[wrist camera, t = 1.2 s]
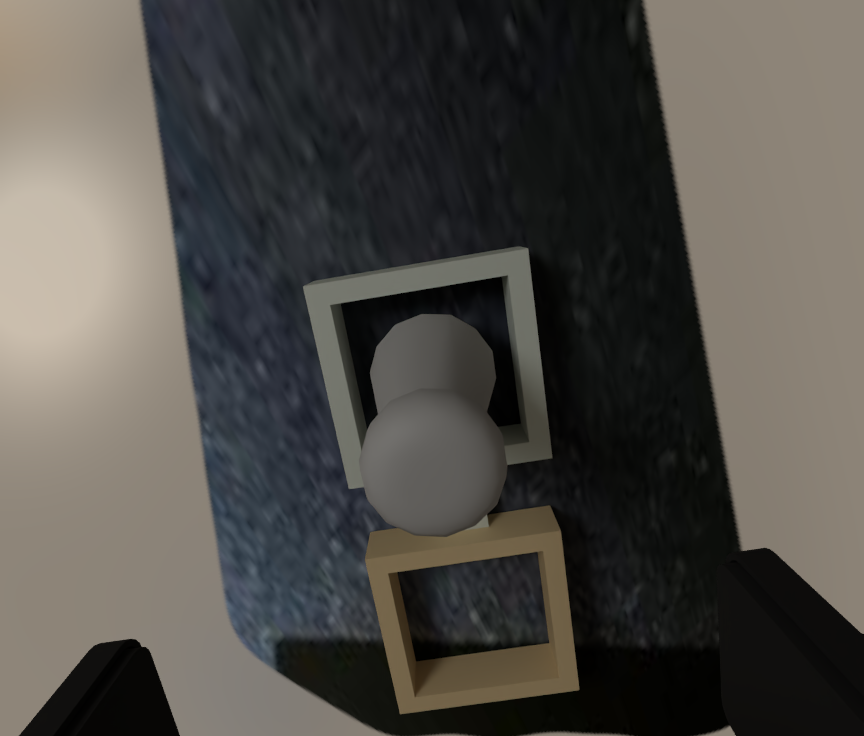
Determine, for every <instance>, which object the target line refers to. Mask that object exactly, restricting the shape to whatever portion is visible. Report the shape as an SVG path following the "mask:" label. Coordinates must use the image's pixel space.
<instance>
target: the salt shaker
mask: <svg viewBox="0 0 864 736" xmlns="http://www.w3.org/2000/svg"><path fill="white" fill-rule="evenodd" d="M370 376H371V381H372V386H373V391H374V396H375V401H376V406H377V411H378V415H377V416H376V418H375V419H374V420H373V421H372V422H371V423H370V425H369V428H368V430H367V433H366V436H365V440H364V444H363V447H362V451H361V455H360V458H359V465H360V472H361V476H362V480H363V484H364V488H365V492H366V496H367V499H368V501H369V502H370V503H371V504H372V506H373V507H374V508H375V509H376V510H377V512H378V513H379V514H380V515H381V517H382V518H383V519H384V520H385V521H386V523H389V524H391V525H393V526H395V527H397V528H399V529H402V530H404V531H406V532H408V533H410V534H413V535H415V536H435V537H448V536H450V535H453V534H455V533H458V532H460V531H463V530H466V529H468V528H471V527H473V526H476V525H477V524H478V523H479V522H480V521H481V520H482V519H483V518H484V517H485V516H486V515H487V514H488V513H489V512H490V511H491V510H492V509H493V508H494V507H495V506H496V505H497V504H498V500H499V497H500V494H501V491H502V488H503V485H504V482H505V479H506V476H507V461H506V454H505V447H504V440H503V435H502V433H501V431H500V430H499V428H498V427H497V425H496V424H495V423H494V421H493V420H492V419H491V417H490V416H489V415H488V413H487V410H488V406H489V402H490V399H491V395H492V392H493V388H494V384H495V381H496V374H495V366H494V359H493V351H492V350H491V348H490V347H489V346H488V344H487V343H486V342H485V340H484V339H483V338H482V337H481V335H480V334H479V333H478V331H477V330H476V329H475V328H473V327H472V326H470V325H468V324H466V323H465V322H463V321H461V320H459V319H458V318H456V317H454V316H452V315H442V314H420V315H418V316H415V317H413V318H410V319H408V320H406V321H403V322H401V323H398V324H396V325H394V327H393V328H392V329H391V330H390V331H389V333H388V334H387V335H386V336H385V337H384V338H383V340H382V341H381V342H380V343H379V344H378V346H377V347H376V351H375V355H374V359H373V363H372V366H371V370H370Z"/></svg>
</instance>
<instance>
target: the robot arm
mask: <svg viewBox="0 0 864 736" xmlns="http://www.w3.org/2000/svg"><path fill="white" fill-rule="evenodd" d="M717 593H718V619H719V644H720V670H721V696H722V704H723V709H724V712H725V715H726V718H727V720H728V722H729V724H730V726H731V728H732V730H733V731H734V733H735V735H736V736H864V634H862V633H860V632H859V631H858V630H857V629H856V628H855V627H854V626H853V625H852V624H851V623H850V622H848V621H847V620H846V619H845V618H844V617H843V616H842V615H841V614H840V613H839V612H838V611H837V610H835V608H833V607H832V606H831V605H830V604H829V603H828V602H827V601H826V600H825V599H824V598H822V596H820V595H819V594H818V593H817V592H816V591H815V590H814V589H813V588H812V587H811V586H810V585H809V584H808V583H807V582H805V581H804V580H803V579H802V578H801V577H800V576H799V575H798V574H797V573H796V572H795V571H794V570H793V569H791V568H790V567H789V566H788V565H787V564H786V563H785V562H784V561H783V560H782V559H781V558H780V557H779V556H778V555H777V554H775V553H774V552H773V551H771V550H770V549H767V548H761V549H754V550H747V551H740V552H733V553H730V554H728V555H727V558H726V564H720V565H718V567H717ZM19 736H180V735H179V732H178V729H177V726H176V723H175V721H174V718H173V715H172V712H171V709H170V706H169V704H168V701H167V698H166V695H165V693H164V690H163V687H162V684H161V681H160V678H159V676H158V673H157V670H156V667H155V664H154V661H153V658H152V656H151V653H150V651H149V649H147V648H146V647H141V645H140V643H139V642H138V641H137V640H135V639H127V640H120V641H113V642H106V643H100V644H97V645H95V646H94V647H93V648H91V649H90V650H89V651H88V653H87V654H86V655H85V656H84V657H83V659H82V660H81V661H80V663H79V664H78V665H77V666H76V667H75V668H74V670H73V671H72V672H71V673H70V674H69V676H68V677H67V678H66V679H65V681H64V682H63V683H62V684H61V686H60V687H59V688H58V689H57V690H56V691H55V693H54V694H53V695H52V696H51V698H50V699H49V700H48V701H47V702H46V704H45V705H44V706H43V707H42V709H41V710H40V711H39V712H38V713H37V715H36V716H35V717H34V718H33V720H32V721H31V722H30V723H29V724H28V726H27V727H26V728H25V729H24V730H23V732H22V733H21V734H20V735H19Z"/></svg>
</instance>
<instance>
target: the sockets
mask: <svg viewBox="0 0 864 736" xmlns="http://www.w3.org/2000/svg"><path fill="white" fill-rule="evenodd" d="M501 276H502V283H503V291H504V299H505V306H506V314H507V322H508V329H509V337H510V345H511V352H512V360H513V368H514V375H515V383H516V391H517V398H518V406H519V414H520V421H521V424H514V425H508V426H501V427H498V428H499V430H500V431H501V433H502V435H503V440H504V447H505V454H506V461H507V465H510V464H517V463H524V462H530V461H537V460H543V459H550V458H552V450H551V442H550V433H549V425H548V416H547V407H546V399H545V390H544V382H543V373H542V364H541V356H540V347H539V339H538V330H537V321H536V313H535V304H534V296H533V287H532V278H531V270H530V261H529V253H528V248H524V247H519V246H518V247H512V248H506V249H500V250H495V251H489V252H483V253H477V254H471V255H465V256H459V257H453V258H447V259H441V260H435V261H429V262H423V263H418V264H412V265H406V266H400V267H394V268H388V269H382V270H376V271H370V272H364V273H358V274H352V275H347V276H341V277H335V278H329V279H323V280H317V281H314V282H311V283H309V284H307V285H305V286H303V289H304V293H305V297H306V302H307V306H308V311H309V315H310V319H311V324H312V328H313V333H314V337H315V341H316V346H317V350H318V355H319V359H320V363H321V368H322V372H323V377H324V381H325V385H326V390H327V394H328V399H329V403H330V407H331V412H332V416H333V421H334V425H335V429H336V434H337V438H338V443H339V447H340V451H341V456H342V460H343V465H344V469H345V473H346V478H347V482H348V487H349V489H353V488H359V487H364V484H363V480H362V476H361V472H360V465H359V458H360V455H361V451H362V447H363V444H364V440H365V436H366V433H367V427H366V422H365V417H364V412H363V408H362V403H361V398H360V393H359V389H358V384H357V379H356V374H355V370H354V365H353V360H352V355H351V351H350V346H349V341H348V336H347V332H346V327H345V322H344V317H343V313H342V308H341V303H345V302H351V301H357V300H363V299H369V298H375V297H381V296H387V295H393V294H399V293H405V292H411V291H417V290H423V289H429V288H435V287H441V286H447V285H453V284H459V283H465V282H471V281H477V280H483V279H489V278H495V277H501ZM532 552H538V559H539V567H540V574H541V582H542V590H543V597H544V605H545V613H546V620H547V628H548V636H549V643H547V644H539V645H532V646H525V647H518V648H510V649H503V650H496V651H489V652H481V653H474V654H467V655H460V656H453V657H445V658H438V659H431V660H424V661H416V659H415V654H414V650H413V645H412V640H411V635H410V631H409V626H408V621H407V616H406V612H405V607H404V602H403V597H402V593H401V588H400V583H399V578H398V574H397V572H401V571H408V570H415V569H422V568H429V567H436V566H443V565H449V564H456V563H463V562H470V561H477V560H484V559H491V558H498V557H504V556H511V555H518V554H525V553H532ZM365 561H366V566H367V570H368V575H369V579H370V583H371V588H372V592H373V597H374V601H375V605H376V610H377V614H378V619H379V623H380V627H381V632H382V636H383V641H384V645H385V649H386V654H387V658H388V663H389V667H390V672H391V676H392V680H393V685H394V689H395V694H396V698H397V702H398V707H399V711H400V714H405V713H412V712H420V711H427V710H435V709H442V708H450V707H457V706H465V705H472V704H479V703H487V702H494V701H502V700H509V699H517V698H524V697H531V696H539V695H546V694H554V693H561V692H569V691H576V690H579V682H578V674H577V665H576V657H575V648H574V639H573V631H572V622H571V614H570V605H569V596H568V588H567V579H566V571H565V562H564V554H563V545H562V536H561V530H560V528H559V525H558V523H557V521H556V518H555V516H554V514H553V511H552V509H551V506H550V505H549V506H543V507H536V508H529V509H522V510H516V511H509V512H502V513H496V514H489V515H486V516H485V517H484V518H483V519H482V520H481V521H480V522H479V523H478V524H477V525H476V526H473V527H471V528H468V529H466V530H463V531H460V532H458V533H455V534H453V535H450V536H448V537H435V536H415V535H413V534H410V533H408V532H406V531H404V530H402V529H399V528H395V529H388V530H381V531H375V532H370V537H369V542H368V547H367V552H366V557H365Z"/></svg>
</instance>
